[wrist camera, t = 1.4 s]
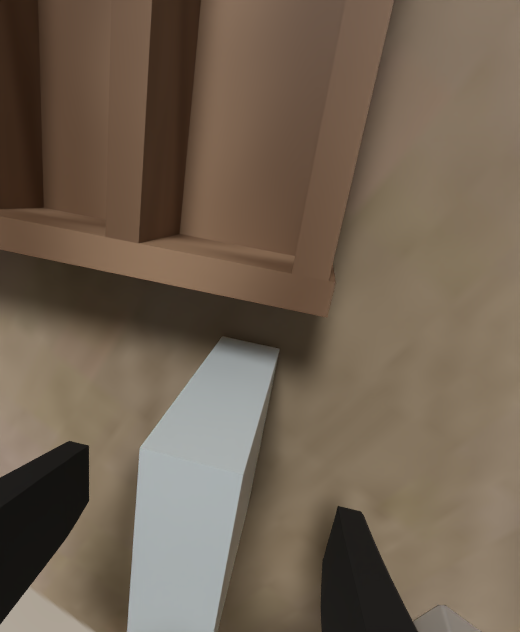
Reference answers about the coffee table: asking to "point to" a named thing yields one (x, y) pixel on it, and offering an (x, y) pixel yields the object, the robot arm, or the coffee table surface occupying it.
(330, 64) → the rack
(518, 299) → the coffee table surface
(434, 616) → the lighter
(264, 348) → the pale blue rectangular prism
